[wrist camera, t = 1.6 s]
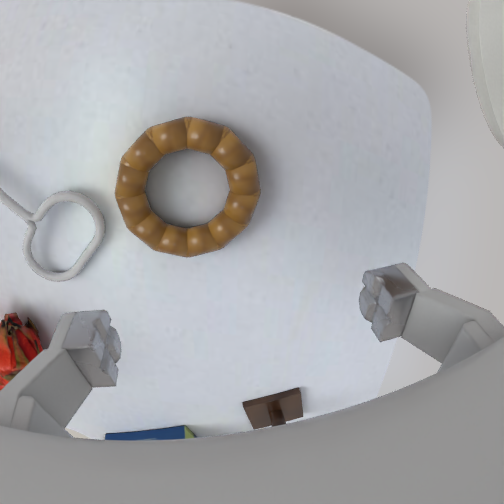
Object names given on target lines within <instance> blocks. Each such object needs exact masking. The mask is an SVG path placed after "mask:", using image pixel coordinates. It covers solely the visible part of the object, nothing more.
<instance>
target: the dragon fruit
mask: <svg viewBox="0 0 504 504" xmlns="http://www.w3.org/2000/svg"><path fill="white" fill-rule="evenodd" d="M37 333H38V331H37V329H36V328H35V326H34V324H33V323H32V321H31V320H30V319H29V318H28V324H25V326H23V325H22V322H21V320H20V319H19V317H18V315H17V313H11V314H5V319H4V320H2V321H1V323H0V391H1V390H2V389H3V388H4V387H5V386H6V385H7V384H8V383H9V382H10V381H11V380H12V379H13V378H14V377H15V376H16V375H17V374H18V373H19V372H20V371H21V370H22V369H23V368H25V367H26V366H27V365H28V364H29V363H30V362H31V361H32V360H33V359H34V358H35V357H36V356H37V355H38V354H40V353H41V352H42V351H43V349H42V346H41V344H40V338H39V337H38V334H37Z"/></svg>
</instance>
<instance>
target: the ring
mask: <svg viewBox="0 0 504 504" xmlns="http://www.w3.org/2000/svg"><path fill="white" fill-rule="evenodd" d="M184 149H191V150H195V151H199V152H203V153H207V154H210V155H211V156H212V157H213V158H214V159H215V160H216V161H217V162H218V163H219V164H220V165H221V166H222V167H223V168H224V169H225V171H226V175H227V179H228V184H229V188H230V191H229V194H228V197H227V200H226V203H225V206H224V209H223V210H222V211H221V212H220V213H219V214H218V215H216V216H215V217H214V218H213V219H212V220H211V221H210V222H209V223H206V224H203V225H199V226H195V227H191V228H183V227H179V226H174V225H170V224H166V223H165V222H164V221H163V220H162V219H161V218H159V217H158V216H157V215H156V214H155V213H154V212H153V211H151V208H150V205H149V202H148V199H147V196H146V193H145V188H146V183H147V179H148V174H149V171H150V170H151V169H152V168H153V166H154V165H155V164H156V163H157V162H158V161H159V160H160V159H161V158H162V157H163V156H164V155H166V154H170V153H173V152H177V151H180V150H184ZM260 193H261V188H260V183H259V178H258V172H257V167H256V162H255V157H254V155H253V154H252V152H251V151H250V150H249V149H248V148H247V147H246V146H245V145H244V144H243V142H242V141H241V140H240V139H239V138H238V137H237V136H236V135H235V134H234V133H233V132H232V131H231V130H230V129H229V128H228V127H226V126H224V125H220V124H217V123H213V122H209V121H206V120H202V119H198V118H194V117H183V118H179V119H176V120H172V121H169V122H165V123H162V124H158V125H155V126H152V127H150V128H148V129H147V130H146V131H145V132H144V133H143V134H142V135H141V136H140V137H139V138H138V139H137V140H136V142H135V143H134V144H133V145H132V146H131V147H130V148H129V149H128V150H127V151H126V153H125V154H124V155H123V157H122V159H121V162H120V167H119V172H118V177H117V182H116V188H115V198H116V201H117V203H118V206H119V209H120V211H121V214H122V217H123V219H124V222H125V224H126V227H127V228H128V229H129V230H130V231H131V232H132V233H133V234H134V235H136V236H137V237H138V238H139V239H140V240H142V241H143V242H144V243H145V244H147V245H148V246H149V247H150V248H151V249H153V250H155V251H158V252H163V253H168V254H172V255H177V256H182V257H193V256H197V255H201V254H205V253H209V252H212V251H216V250H220V249H222V248H224V247H225V246H226V245H227V244H228V243H229V242H231V241H232V240H233V239H234V238H235V237H236V236H237V235H239V234H240V233H241V232H242V231H243V230H244V229H246V228H247V226H248V225H249V223H250V221H251V218H252V215H253V213H254V210H255V207H256V205H257V202H258V199H259V196H260Z"/></svg>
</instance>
